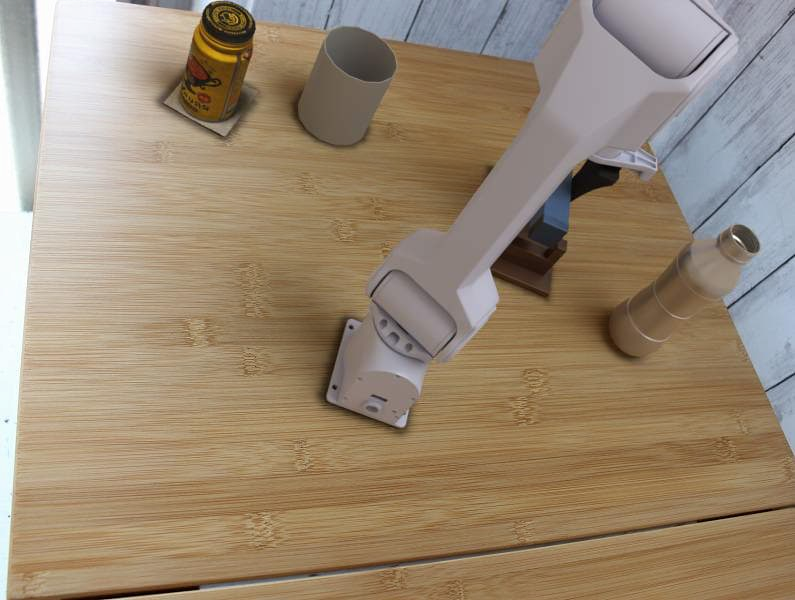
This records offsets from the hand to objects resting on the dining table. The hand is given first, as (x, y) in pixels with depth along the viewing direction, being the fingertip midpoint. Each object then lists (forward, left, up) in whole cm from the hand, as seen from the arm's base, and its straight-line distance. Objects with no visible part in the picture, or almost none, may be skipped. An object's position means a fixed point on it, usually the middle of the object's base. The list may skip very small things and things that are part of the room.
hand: (551, 191), depth 93 cm
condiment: (0, +38, -8) cm, 39 cm away
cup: (+5, +25, -8) cm, 27 cm away
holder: (0, 0, -8) cm, 8 cm away
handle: (0, 0, -1) cm, 1 cm away
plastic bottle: (-9, -15, -8) cm, 19 cm away
